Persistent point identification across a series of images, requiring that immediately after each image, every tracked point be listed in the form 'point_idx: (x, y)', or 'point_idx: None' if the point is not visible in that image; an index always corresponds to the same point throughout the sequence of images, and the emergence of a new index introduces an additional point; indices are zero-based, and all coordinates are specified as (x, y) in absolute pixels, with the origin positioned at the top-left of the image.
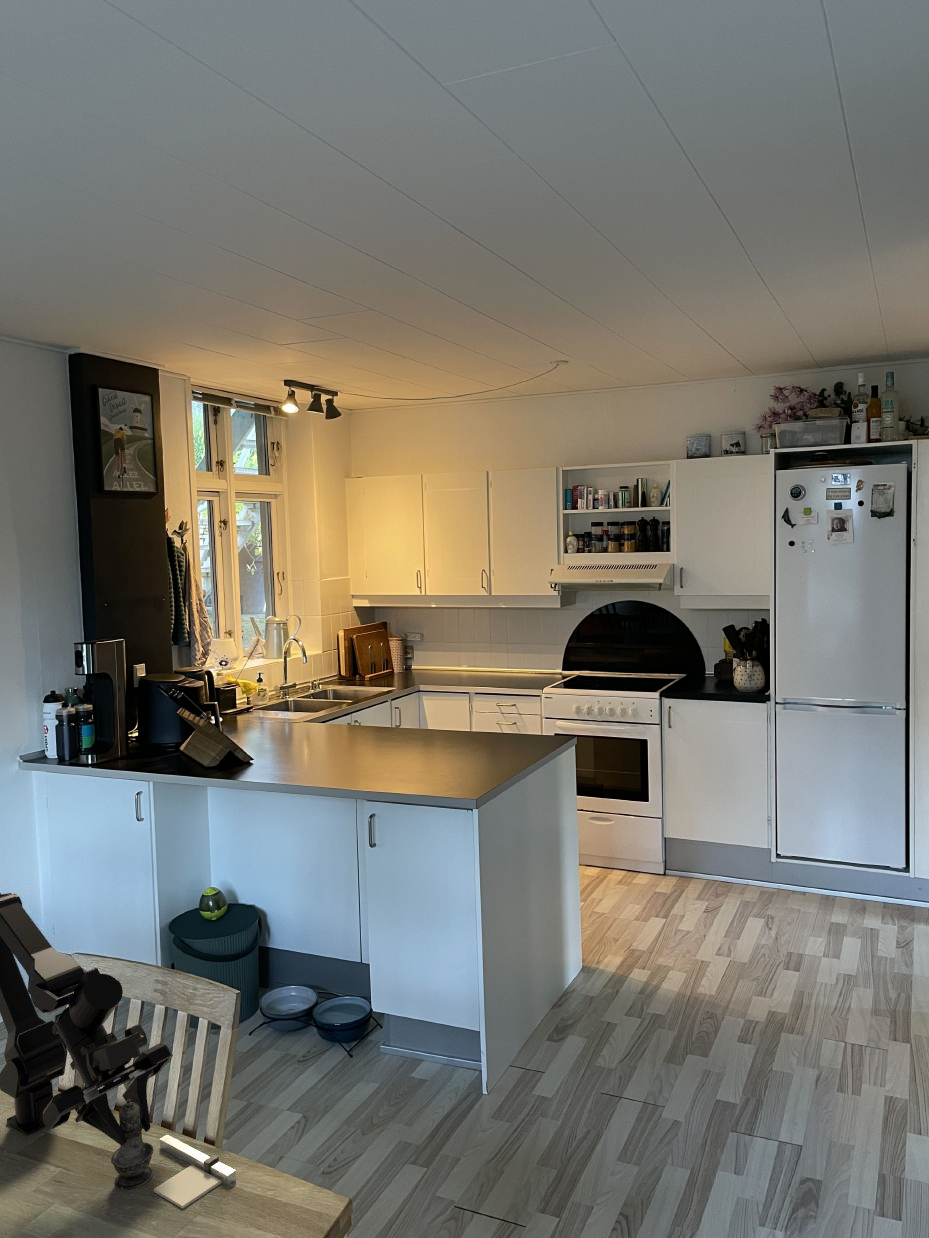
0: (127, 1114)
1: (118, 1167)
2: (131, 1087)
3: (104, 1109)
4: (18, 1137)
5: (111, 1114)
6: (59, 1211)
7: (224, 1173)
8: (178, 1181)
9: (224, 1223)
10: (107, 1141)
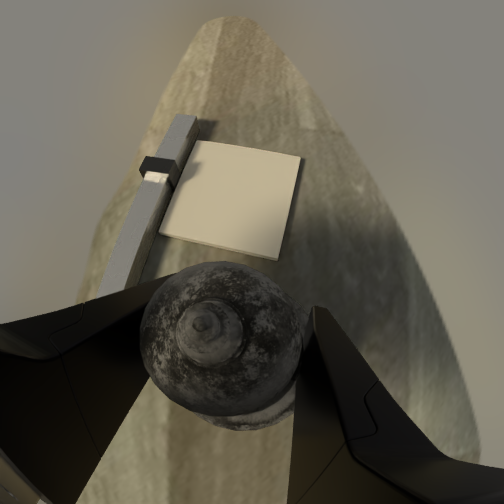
0: (284, 295)
1: None
2: (24, 444)
3: (404, 451)
4: None
5: (351, 406)
6: (424, 432)
7: (191, 124)
8: (229, 218)
9: (297, 86)
10: None
